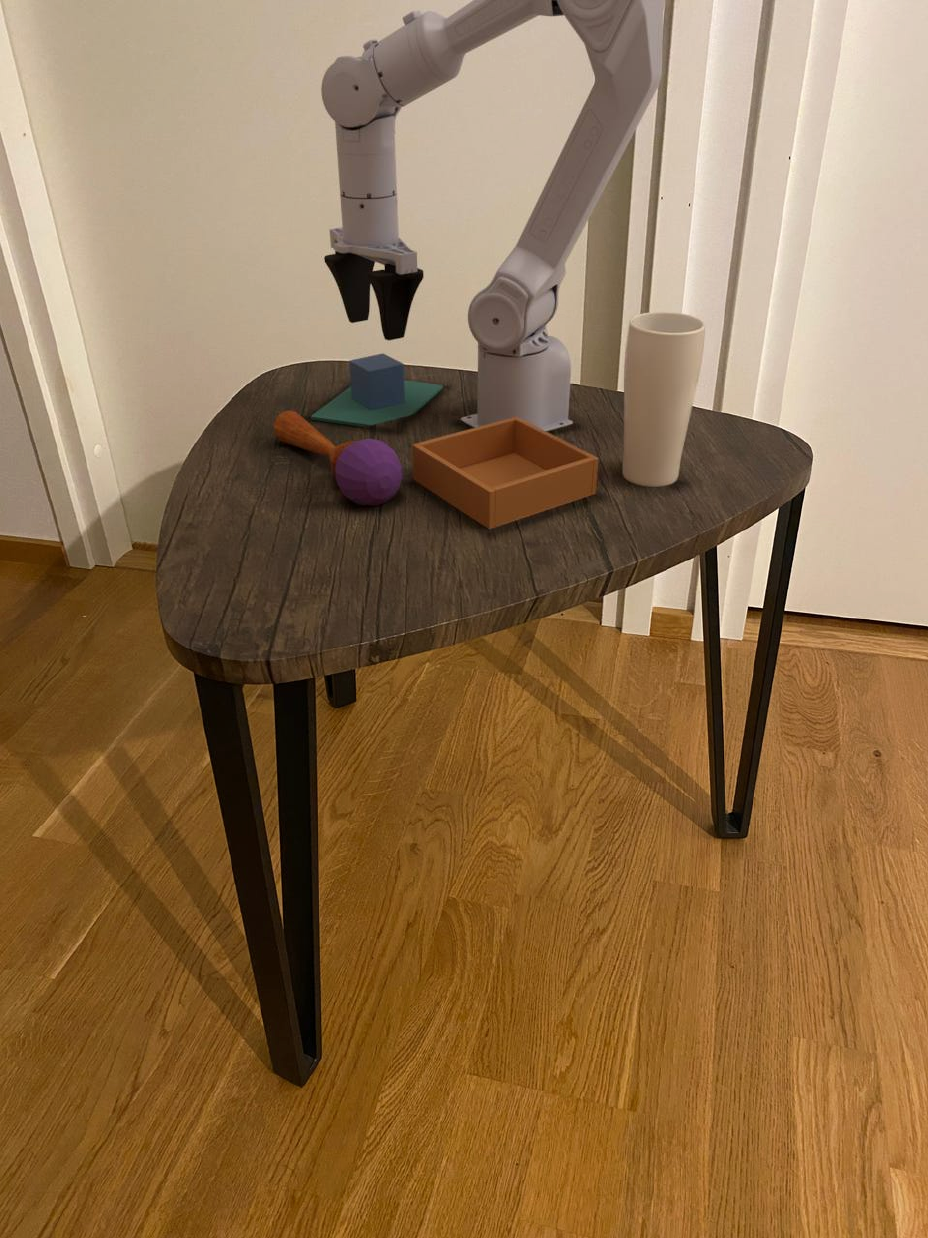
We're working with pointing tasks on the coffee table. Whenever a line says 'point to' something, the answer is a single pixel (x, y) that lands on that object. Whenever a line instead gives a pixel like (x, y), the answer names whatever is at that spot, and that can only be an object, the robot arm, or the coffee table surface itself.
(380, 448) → the maraca
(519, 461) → the bin
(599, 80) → the robot arm
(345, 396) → the mat
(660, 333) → the white vase
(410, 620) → the coffee table surface
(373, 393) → the block
